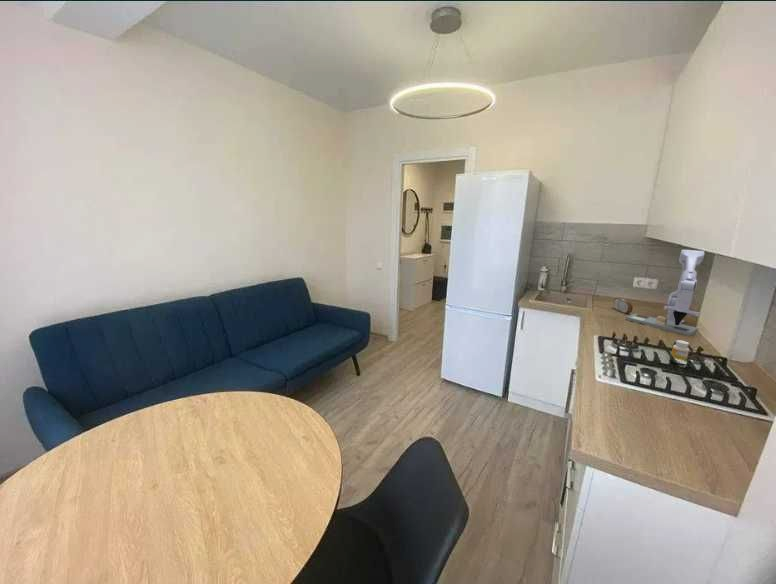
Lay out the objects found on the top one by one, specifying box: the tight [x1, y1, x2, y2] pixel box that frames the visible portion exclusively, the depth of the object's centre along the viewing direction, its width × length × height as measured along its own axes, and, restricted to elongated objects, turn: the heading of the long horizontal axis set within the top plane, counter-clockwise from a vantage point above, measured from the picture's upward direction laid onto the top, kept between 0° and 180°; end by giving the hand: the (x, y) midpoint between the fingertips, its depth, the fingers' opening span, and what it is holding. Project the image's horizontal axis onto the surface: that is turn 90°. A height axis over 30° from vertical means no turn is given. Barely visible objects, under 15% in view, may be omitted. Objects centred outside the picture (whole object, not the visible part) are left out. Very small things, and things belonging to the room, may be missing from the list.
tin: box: [613, 297, 633, 314], centre depth 213 cm, size 15×3×8 cm, turn 179°
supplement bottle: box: [670, 339, 690, 360], centre depth 139 cm, size 5×5×10 cm
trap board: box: [625, 313, 699, 337], centre depth 188 cm, size 14×30×2 cm, turn 35°
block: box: [656, 315, 668, 325], centre depth 184 cm, size 4×4×4 cm
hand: (677, 324), depth 179 cm, fingers closed
